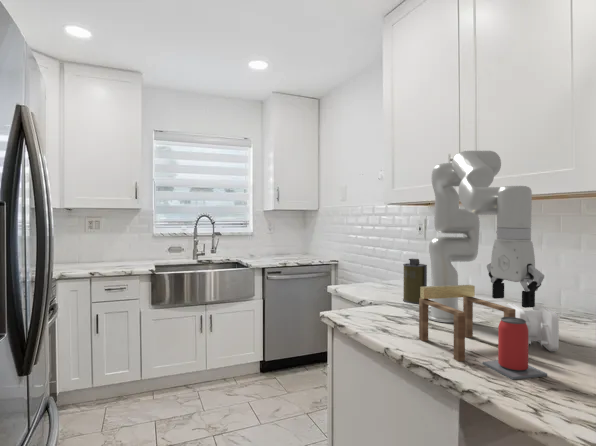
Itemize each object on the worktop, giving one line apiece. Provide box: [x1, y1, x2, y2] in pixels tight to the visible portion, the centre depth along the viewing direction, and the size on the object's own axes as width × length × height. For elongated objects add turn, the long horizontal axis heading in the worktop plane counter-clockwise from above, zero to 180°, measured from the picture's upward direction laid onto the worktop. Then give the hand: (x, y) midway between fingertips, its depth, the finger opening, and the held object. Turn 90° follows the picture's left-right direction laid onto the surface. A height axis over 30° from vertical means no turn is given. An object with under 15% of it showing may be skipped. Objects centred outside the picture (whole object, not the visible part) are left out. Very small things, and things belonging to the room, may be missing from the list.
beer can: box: [497, 316, 529, 371], centre depth 94 cm, size 7×7×12 cm
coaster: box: [481, 359, 548, 381], centre depth 94 cm, size 10×10×1 cm
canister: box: [402, 258, 428, 304], centre depth 176 cm, size 11×10×20 cm
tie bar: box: [420, 284, 476, 300], centre depth 119 cm, size 2×18×4 cm, turn 103°
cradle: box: [418, 297, 515, 362], centre depth 111 cm, size 20×18×13 cm
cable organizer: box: [505, 302, 560, 353], centre depth 113 cm, size 15×11×12 cm
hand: (512, 302), depth 95 cm, fingers open, 9 cm apart
